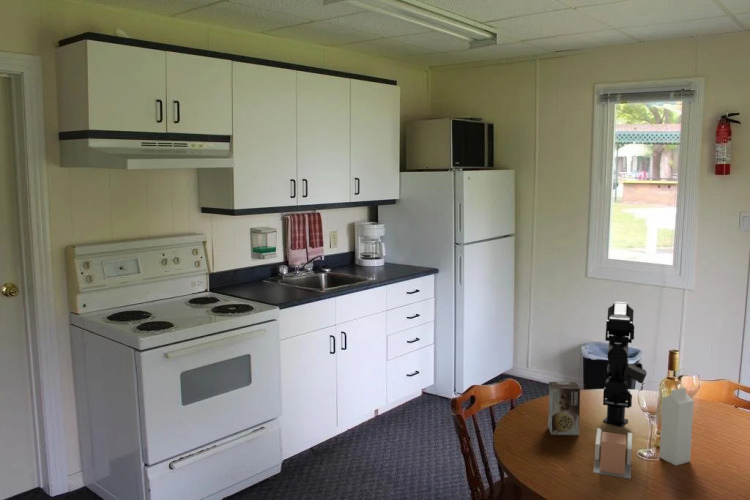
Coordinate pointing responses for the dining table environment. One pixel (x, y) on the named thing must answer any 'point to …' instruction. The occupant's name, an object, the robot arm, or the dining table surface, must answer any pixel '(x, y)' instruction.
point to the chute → (598, 453)
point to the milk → (676, 427)
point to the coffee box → (564, 408)
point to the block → (613, 453)
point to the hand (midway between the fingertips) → (615, 403)
